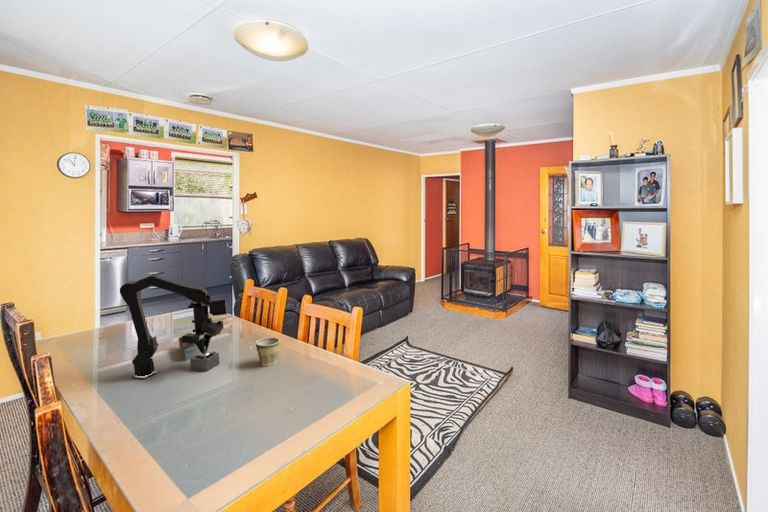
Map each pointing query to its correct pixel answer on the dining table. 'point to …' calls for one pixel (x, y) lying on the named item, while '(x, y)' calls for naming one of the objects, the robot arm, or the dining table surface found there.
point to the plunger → (206, 353)
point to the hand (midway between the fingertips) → (204, 352)
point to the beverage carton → (188, 349)
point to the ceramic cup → (268, 351)
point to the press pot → (204, 362)
